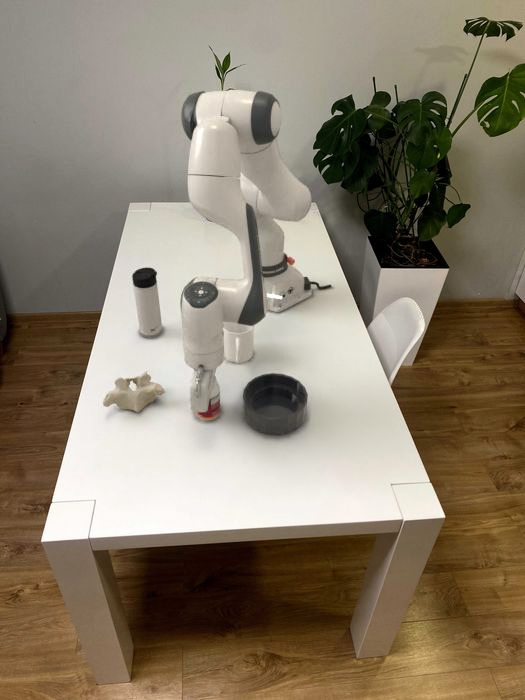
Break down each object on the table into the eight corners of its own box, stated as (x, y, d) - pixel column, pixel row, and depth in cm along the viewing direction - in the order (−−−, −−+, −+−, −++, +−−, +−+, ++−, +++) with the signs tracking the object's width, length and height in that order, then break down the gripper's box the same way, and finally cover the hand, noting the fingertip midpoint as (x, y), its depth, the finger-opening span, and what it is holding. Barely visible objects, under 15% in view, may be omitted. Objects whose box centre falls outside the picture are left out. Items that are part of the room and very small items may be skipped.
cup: (252, 343, 152) (253, 314, 146) (254, 372, 143) (255, 342, 137) (222, 344, 152) (222, 314, 145) (223, 373, 143) (222, 343, 136)
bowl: (284, 383, 140) (285, 365, 136) (318, 421, 130) (320, 403, 127) (231, 403, 134) (231, 386, 130) (263, 445, 124) (264, 427, 120)
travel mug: (159, 340, 152) (151, 279, 140) (136, 336, 153) (127, 276, 141) (166, 326, 157) (160, 267, 144) (145, 323, 158) (136, 263, 145)
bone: (164, 406, 134) (165, 384, 129) (111, 428, 128) (109, 406, 122) (148, 381, 139) (148, 360, 133) (96, 401, 132) (93, 379, 127)
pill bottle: (189, 412, 131) (186, 379, 124) (207, 399, 135) (205, 366, 128) (207, 425, 128) (206, 392, 121) (225, 411, 132) (225, 378, 125)
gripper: (211, 385, 112) (213, 430, 120) (224, 325, 127) (225, 369, 136) (181, 383, 112) (185, 428, 121) (197, 323, 127) (200, 367, 136)
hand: (206, 396), depth 128 cm, fingers closed on pill bottle, 6 cm apart
